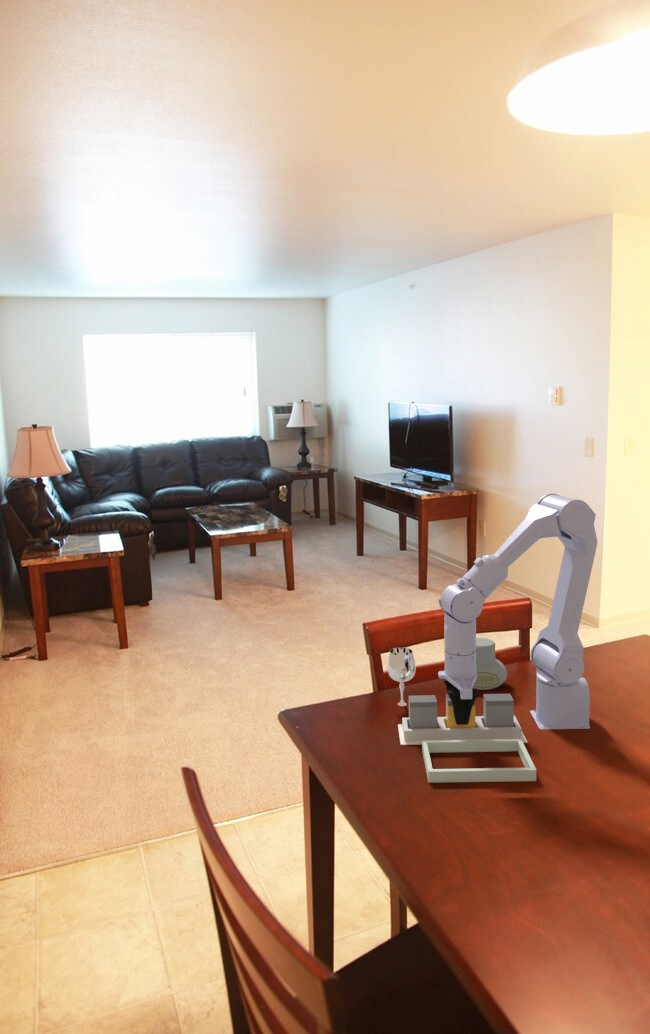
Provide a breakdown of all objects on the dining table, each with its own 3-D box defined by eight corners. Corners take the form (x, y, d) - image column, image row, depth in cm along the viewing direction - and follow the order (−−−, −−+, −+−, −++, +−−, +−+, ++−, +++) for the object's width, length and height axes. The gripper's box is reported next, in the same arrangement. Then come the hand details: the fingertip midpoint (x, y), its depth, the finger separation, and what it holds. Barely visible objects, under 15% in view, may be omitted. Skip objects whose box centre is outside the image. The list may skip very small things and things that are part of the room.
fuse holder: (517, 725, 137) (517, 712, 137) (527, 745, 129) (527, 732, 129) (397, 727, 138) (397, 714, 138) (400, 747, 130) (400, 734, 130)
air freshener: (456, 692, 153) (456, 648, 151) (455, 677, 161) (454, 635, 159) (508, 693, 151) (509, 649, 149) (504, 678, 159) (505, 635, 157)
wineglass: (415, 700, 149) (415, 646, 147) (416, 713, 144) (415, 656, 142) (388, 700, 150) (387, 646, 148) (388, 712, 144) (386, 656, 142)
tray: (520, 751, 127) (521, 738, 127) (536, 784, 117) (536, 770, 116) (422, 753, 128) (421, 740, 127) (428, 785, 117) (428, 771, 117)
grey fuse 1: (435, 729, 135) (435, 695, 134) (437, 737, 132) (437, 702, 131) (409, 730, 135) (408, 695, 134) (410, 737, 132) (409, 702, 131)
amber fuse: (472, 728, 135) (472, 693, 134) (475, 735, 132) (475, 700, 131) (446, 728, 135) (445, 694, 134) (448, 736, 132) (448, 700, 131)
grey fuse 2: (509, 728, 135) (510, 693, 133) (513, 736, 132) (513, 700, 130) (483, 728, 135) (483, 694, 134) (486, 736, 132) (486, 701, 131)
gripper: (433, 637, 138) (434, 702, 140) (443, 665, 124) (444, 738, 126) (470, 636, 138) (470, 702, 140) (484, 664, 123) (484, 737, 126)
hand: (460, 719), depth 133 cm, fingers closed on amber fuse, 3 cm apart
